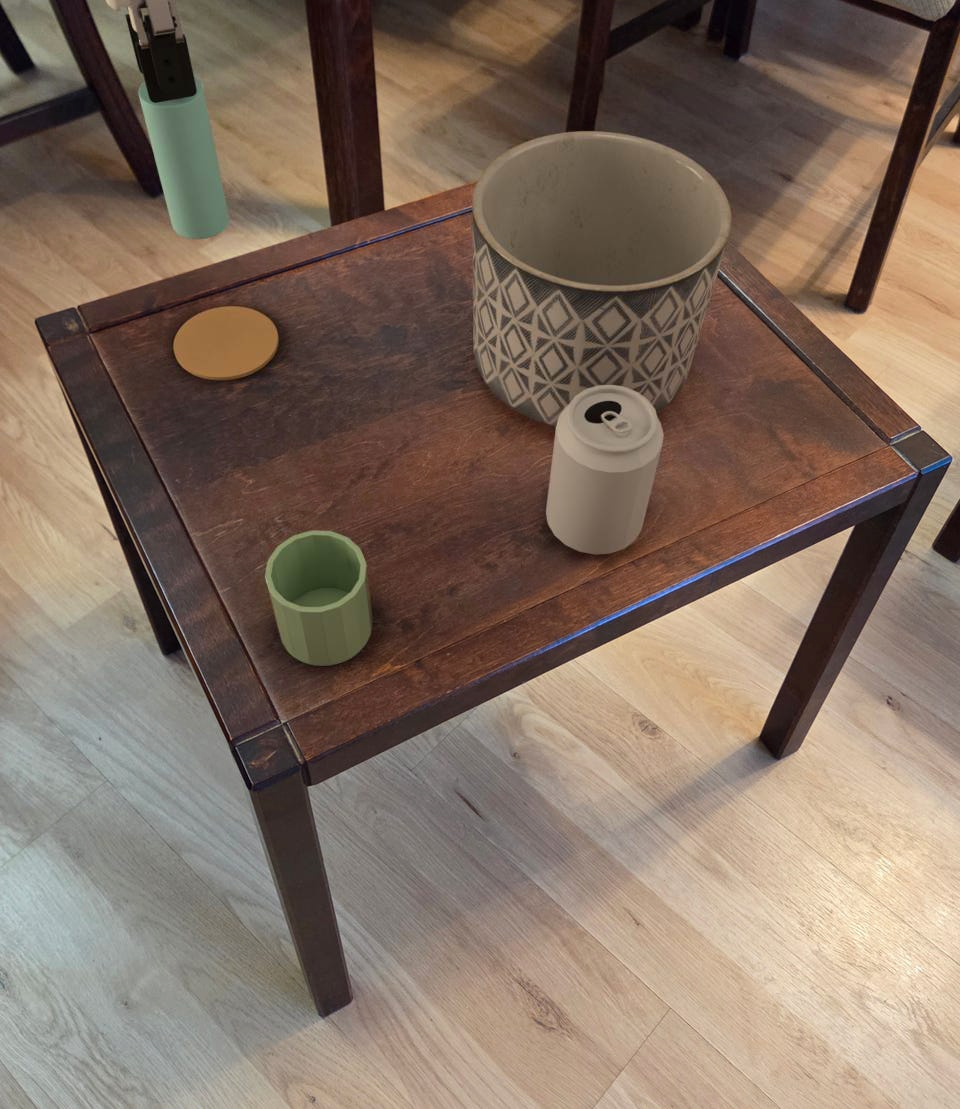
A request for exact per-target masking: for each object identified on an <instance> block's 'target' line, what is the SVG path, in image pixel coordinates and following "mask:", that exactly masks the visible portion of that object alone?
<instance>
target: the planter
mask: <svg viewBox="0 0 960 1109" xmlns="http://www.w3.org/2000/svg"><path fill="white" fill-rule="evenodd" d="M471 202H472V203H471V210H472V212H471V213H472V214H471V215H472V216H471V217H472V218H471V220H472V222H471V223H472V226H471V228H472V229H471V230H472V316H473V318H472V320H473V323H472V327H473V329H472V330H473V331H472V332H473V334H472V335H473V356H474V361H475V364H476V367H477V370H478V372H479V375H480V376H481V378H482V380H483V382H484V383H485V384H486V386H487V387H488V388H489V389H490V391H491V392H492V393H493V394H494V396H496V397H497V399H499V400H500V401H501V402H502V403H504V404H505V405H506V406H508V407H509V408H511V409H512V410H513V411H515V412H517V413H518V414H520V415H522V416H524V417H526V418H528V419H531V420H532V421H535V422H537V423H541V424H544V425H547V426H550V427H554V428H556V426H557V422H558V418H559V415H560V414H561V413H562V411H563V410H564V409H565V407H566V406H567V405H569V404H570V403H571V401H572V400H573V399H574V397H575V396H576V395H578V394H579V393H581V392H582V391H584V390H585V389H588V388H591V387H595V386H598V385H616V386H622V387H627V388H629V389H631V390H634V391H636V392H638V393H640V394H641V395H642V396H644V397H645V398H646V399H648V400H649V402H650V403H651V404H652V406H653V407H654V409H655V410H656V414H657V413H659V412H660V411H662V410H663V409H664V408H666V407H667V406H669V405H670V403H672V402H673V401H674V399H675V398H676V397H677V396H678V394H679V393H680V392H681V390H682V389H683V387H684V385H685V383H686V381H687V379H688V376H689V373H690V370H691V367H692V361H693V359H694V356H695V353H696V349H697V346H698V342H699V338H700V335H701V332H702V328H703V325H704V322H705V318H706V315H707V311H708V309H709V305H710V301H711V299H712V298H711V297H712V294H713V292H714V288H715V284H716V281H717V277H718V273H719V270H720V266H721V263H722V260H723V257H724V253H725V249H726V246H727V244H728V240H729V236H730V233H731V230H732V229H731V228H732V212H731V206H730V203H729V200H728V197H727V196H726V194H725V192H724V190H723V189H722V187H721V185H720V184H719V183H718V181H717V180H716V179H715V178H714V177H713V175H712V174H710V173H709V172H708V171H707V170H706V169H705V168H704V167H703V166H702V165H700V164H699V163H698V162H696V161H695V160H694V159H692V158H690V157H688V155H685V154H684V153H682V152H680V151H678V150H675V149H673V148H671V147H670V146H667V145H665V144H662V143H659V142H656V141H653V140H650V139H647V138H643V137H639V136H635V135H630V134H626V133H620V132H619V133H618V132H610V131H598V130H597V131H595V130H585V131H584V130H581V131H567V132H559V133H553V134H548V135H544V136H543V135H542V136H540V137H537V138H534V139H531V140H528V141H525V142H522V143H520V144H518V145H516V146H513V147H512V148H510V149H508V150H506V151H505V152H503V153H502V154H500V155H499V156H497V157H496V158H495V159H494V160H492V162H491V163H490V164H488V166H486V168H485V169H484V170H483V172H481V175H479V178H478V179H477V181H476V184H475V185H474V188H473V192H472V200H471Z"/></svg>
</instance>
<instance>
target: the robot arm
mask: <svg viewBox="0 0 960 1109" xmlns="http://www.w3.org/2000/svg"><path fill="white" fill-rule="evenodd" d="M178 1H179V2H180V1H181V0H178ZM105 2H106V4H107V5H108V6H109V7H110V9H113V10H114V11H116V12H118V11H121V8H126V11H127V12H128V13H127V14H125V15H124V17H125V20H126V25H127V28H128V32H129V37H130V40H131V44H132V47H133V52H134V56H135V61H136V64H137V67H138V70H139V72H140V73H141V74H142V76H143V80H144V82H145V84H146V88H147V92H148V96H149V98H150V100H151V101H152V102H154V103H158V102H164V101H170V100H175V99H181V98H186V97H192V96H194V95H195V94H196V93H197V89H196V84H195V79H194V77H195V74H194V69H193V64H192V61H191V60H192V59H191V56H190V50H189V47H188V42H187V37H186V34H185V33H183V29H182V25H181V20H180V16H179V10H178V6H177V2H176V0H105ZM128 6H131V10H132V14H133V18H134V22H135V26H136V30H137V32H136V31H135V30H134V29H133V27H132V23H131V19H130V15H129V10H128ZM142 8H147V9H148V15H145V16H144V20H143V16H142V12H141V9H142Z"/></svg>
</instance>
